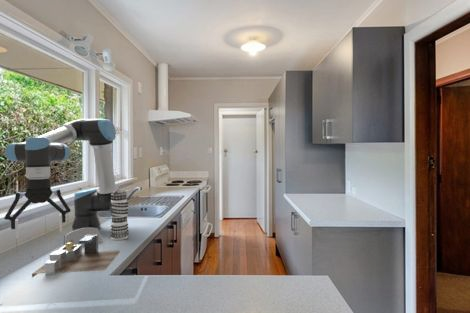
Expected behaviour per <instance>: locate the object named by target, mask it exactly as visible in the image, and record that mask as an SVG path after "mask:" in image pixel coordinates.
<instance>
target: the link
mask: <svg viewBox="0 0 470 313" xmlns="http://www.w3.org/2000/svg"><path fill="white" fill-rule="evenodd" d="M73 247H74V249H73V250H66V245H64V244H63V246H61V247H60V248H59V249H58V250H54V251H52V253H49V260H47V261H46V262H45V263H44V265H45V273H44V274H45V276H48V275H49V276H51V275H56V273H57V272H58V271H59V270H61V269H62V268H64V267H65V266H66V264H67V263H68V262H69V261H75V260H76V259H77V258H78V257H80V256H81V255H82V252H83V249H82V248H83V247H82V245H73Z"/></svg>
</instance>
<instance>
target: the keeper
mask: <svg viewBox="0 0 470 313" xmlns="http://www.w3.org/2000/svg"><path fill="white" fill-rule="evenodd" d="M83 243H84V252H85V254H97V253H98V252H99V243H98V234H95V235H85V236H84V238H82V239H81V240H80V241H79V244H83Z"/></svg>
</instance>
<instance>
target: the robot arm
mask: <svg viewBox="0 0 470 313" xmlns="http://www.w3.org/2000/svg"><path fill="white" fill-rule="evenodd" d="M116 134H117V132H116V127H115V125H114V123H113V122H112V121H111V120H110V119H105V118H81V119H76V120H73V121H68V122H66V123H64V124H61V125H60V126H58V128H57V129H55V130H51V131H49V132H46V133H44V134H42V135H38V136H29V137H26V138H25V141H22V142H13V143H9V144H7V145H6V147H5V148H4V149H5V150H4V154H5V157H6V159H7V160H8V161H10V162H18V163H20V162H22V163H23V162H25V177H26V178H27V179H26V180H25V189H26V191H25V192H19V191H17V192H16V193H15V195H14V196H15V197H14V199H13V202H12V203H11V205H10V207H9V209H8V211H7V212H6V214H5V215H4V217H3V218H4V220H5V221H10V229H11V230H15V231H14V232H15V234H14V235H15V236H14V238H15V239H19V219H18V217H19V216H20V215H21V214H22V213H23V211H24V210H26V209H27V207H29V205H30V204H38V203H39V204H40V203H41V204H44V203H48V204H50V205H51V206H52V207H54V208H55V209H56V211H58V213H59V214H58V215H59V216H58V217H59V221H58V223H59V233H63V223H66V214H68V213H71V208H70V207H69V205H68V203H67V202H66V200H65V199H64V198H63V196H62V193H61V190H60V188H59V189H58V188H57V189H54V190H52V187H51V182H52V181H51V178H50V177H51V162H62V161H65V160H67V159H69V158H70V156H71V150H70V147H69V145H67V144H66V143H72V142H76V141H77V142H78V141H84V142H85V141H86V142H87V141H88V143H89V146H90V147H92V149H93V155H94V156H93V157H94V163H95V168H96V169H95V170H96V174H97V182H98V183H97V184H98V188H90V189H85V190H79V191H76V192H75V193H74V196H73V197H74V198H73V202H74V204H73V206H74V219H73V222H72V224H71V232H72V231H74V230H77V229H81V228H98V229H99V230H100V229H101V227H102V226H101V222H100V219H99V217H98V213H99V212H105V213H107V212H109V213H111V212H110V210H111V209H110V207H111V206H110V202H111V194H112V193H113V191H117V190H120V189H119V186H118V185H116V180H115V173H114V164H113V158H112V150H111V145H112V144H113V142H114V140H115V139H116V137H117V136H116ZM53 194H54V196H57V198H58V200H59V201H60V202H61V204H62V206H63V208H64V209H63V208H62V207H61V206H59V205H58V204H57V203H56V202H55V201H54V200H53V199H52V198H51V196H52V195H53ZM23 197H25V198H26V199H27V200H26V201H25V202H24V203H23V204H22V205H21V206H20V207H19V209H18V210H17V211H15V213H14V214H13V215H12V213H13V212H14V210H15V207H16V206H17V204H18V202H19V201H20V199H23Z"/></svg>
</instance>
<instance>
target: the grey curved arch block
mask: <svg viewBox="0 0 470 313" xmlns="http://www.w3.org/2000/svg"><path fill="white" fill-rule="evenodd" d="M95 234H98V244H99V243H104V240H103V238H102V236H101V233H100V229H98V228H81V229H77V230H74V231H72V230H71V231H70V232H68V233H66V234H65V235H64V236H63V246H64V245H66V243H68V242H73V245H82V248H83V247H84V243H83V244H79V241H80V240H81V239H82V238H84V236H85V235H95Z"/></svg>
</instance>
